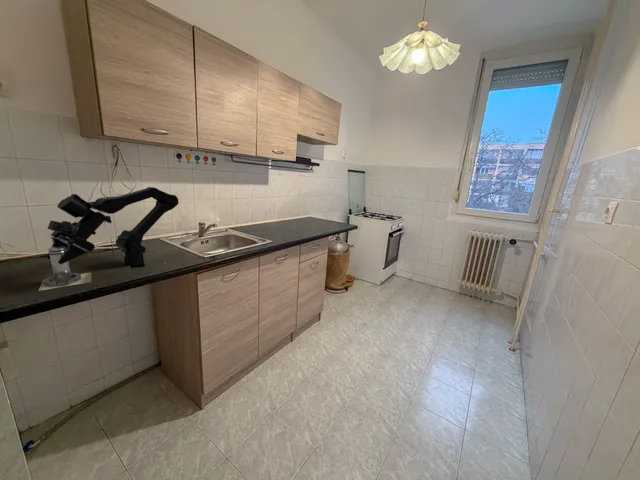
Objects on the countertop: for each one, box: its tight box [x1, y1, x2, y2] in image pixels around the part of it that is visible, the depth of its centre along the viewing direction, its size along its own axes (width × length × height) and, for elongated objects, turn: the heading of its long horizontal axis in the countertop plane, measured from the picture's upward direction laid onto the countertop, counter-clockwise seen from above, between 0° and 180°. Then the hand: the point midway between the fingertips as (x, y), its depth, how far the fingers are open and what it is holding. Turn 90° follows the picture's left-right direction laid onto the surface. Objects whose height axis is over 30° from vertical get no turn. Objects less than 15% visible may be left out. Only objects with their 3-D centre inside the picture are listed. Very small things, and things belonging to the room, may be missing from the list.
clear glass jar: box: [48, 246, 72, 282], centre depth 89 cm, size 4×4×12 cm
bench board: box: [38, 272, 92, 292], centre depth 91 cm, size 13×11×1 cm
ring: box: [42, 272, 82, 287], centre depth 91 cm, size 9×9×1 cm
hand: (53, 260), depth 88 cm, fingers open, 9 cm apart
